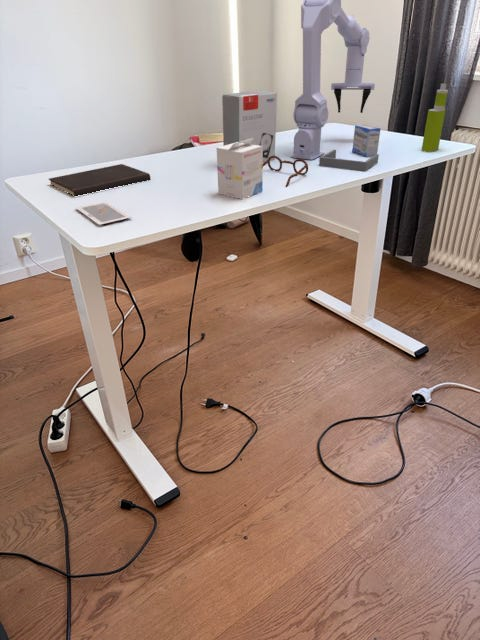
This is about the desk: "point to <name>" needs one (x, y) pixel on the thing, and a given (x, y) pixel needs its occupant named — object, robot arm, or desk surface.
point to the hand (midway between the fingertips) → (350, 112)
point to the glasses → (288, 163)
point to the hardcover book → (99, 179)
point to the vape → (435, 122)
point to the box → (347, 162)
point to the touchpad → (103, 212)
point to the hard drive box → (251, 119)
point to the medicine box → (366, 140)
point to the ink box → (240, 169)
